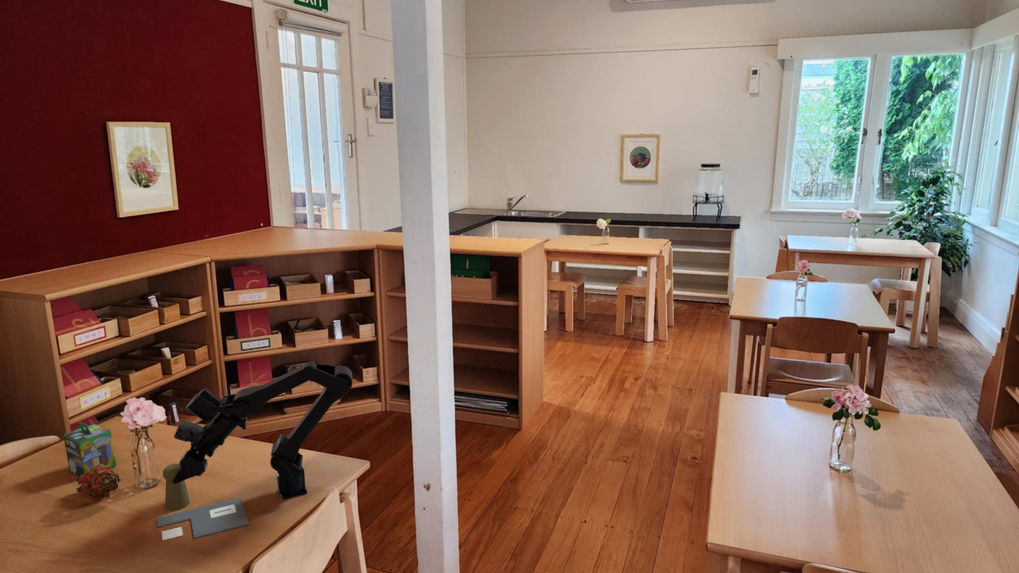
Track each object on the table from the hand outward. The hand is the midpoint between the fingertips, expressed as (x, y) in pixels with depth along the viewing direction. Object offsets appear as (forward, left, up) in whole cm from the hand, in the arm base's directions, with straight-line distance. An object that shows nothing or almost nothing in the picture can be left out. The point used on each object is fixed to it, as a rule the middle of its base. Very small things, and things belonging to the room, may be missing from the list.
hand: (177, 473), depth 175 cm
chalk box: (+21, -33, -9) cm, 40 cm away
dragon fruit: (+19, -16, -9) cm, 27 cm away
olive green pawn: (+1, 0, -9) cm, 9 cm away
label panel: (-4, +12, -9) cm, 15 cm away
